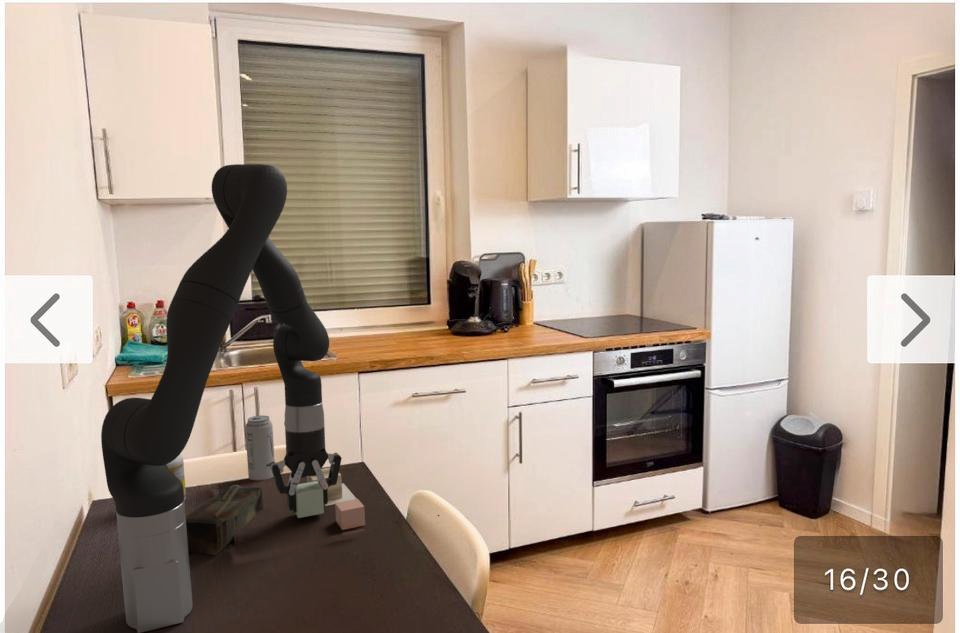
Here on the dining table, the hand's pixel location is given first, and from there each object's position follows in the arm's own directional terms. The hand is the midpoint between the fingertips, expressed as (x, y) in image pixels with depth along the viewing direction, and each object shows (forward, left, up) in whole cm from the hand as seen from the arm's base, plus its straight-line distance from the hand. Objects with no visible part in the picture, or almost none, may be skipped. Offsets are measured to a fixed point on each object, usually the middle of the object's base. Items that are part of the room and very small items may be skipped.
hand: (308, 508), depth 136 cm
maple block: (+9, -5, -2) cm, 11 cm away
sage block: (0, 0, -1) cm, 1 cm away
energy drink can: (+29, +5, -3) cm, 30 cm away
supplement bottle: (+25, +25, -3) cm, 35 cm away
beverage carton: (+3, +16, -3) cm, 16 cm away
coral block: (-7, -6, -3) cm, 10 cm away
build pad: (+9, -5, -3) cm, 11 cm away
